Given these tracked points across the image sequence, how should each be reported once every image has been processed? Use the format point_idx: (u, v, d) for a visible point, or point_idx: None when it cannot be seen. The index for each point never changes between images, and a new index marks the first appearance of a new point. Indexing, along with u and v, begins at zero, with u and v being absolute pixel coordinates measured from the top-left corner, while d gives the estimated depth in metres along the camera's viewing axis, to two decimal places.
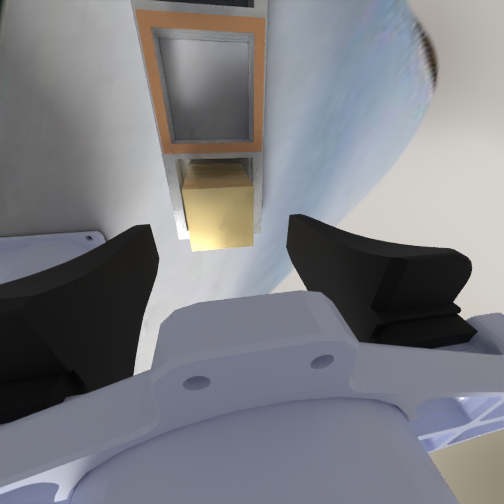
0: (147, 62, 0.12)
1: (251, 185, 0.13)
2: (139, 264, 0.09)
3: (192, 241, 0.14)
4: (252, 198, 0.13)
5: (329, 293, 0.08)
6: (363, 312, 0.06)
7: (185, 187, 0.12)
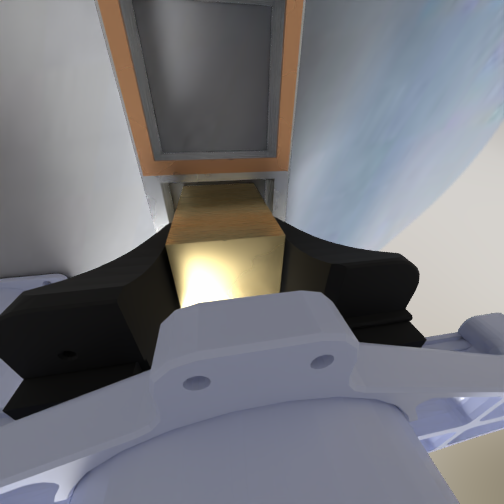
0: (109, 30, 0.07)
1: (280, 233, 0.08)
2: None
3: None
4: (281, 252, 0.08)
5: None
6: None
7: (172, 238, 0.07)
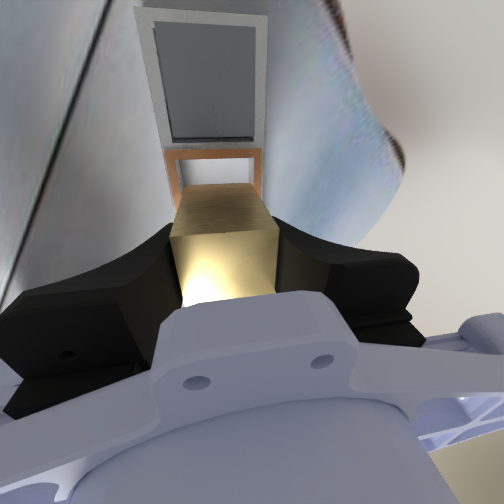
0: (171, 181, 0.16)
1: (275, 226, 0.08)
2: None
3: (187, 303, 0.09)
4: (276, 245, 0.09)
5: None
6: None
7: (175, 231, 0.08)
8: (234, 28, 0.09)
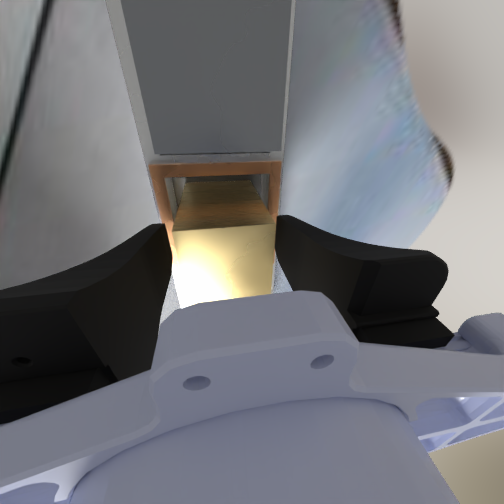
0: (159, 204, 0.12)
1: (272, 222, 0.09)
2: (156, 263, 0.09)
3: (188, 295, 0.10)
4: (272, 239, 0.09)
5: None
6: None
7: (177, 226, 0.08)
8: None
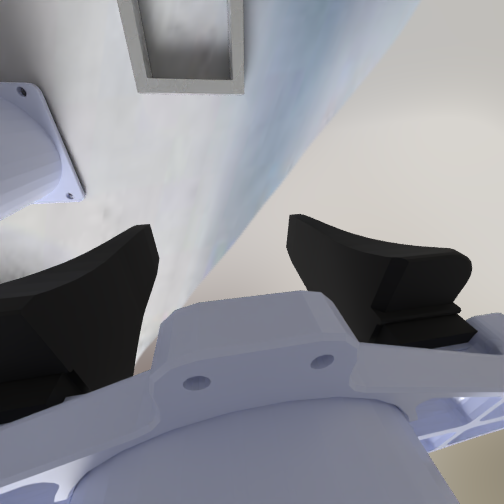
0: None
1: None
2: (138, 264, 0.09)
3: None
4: None
5: (329, 293, 0.08)
6: (363, 312, 0.06)
7: None
8: None
